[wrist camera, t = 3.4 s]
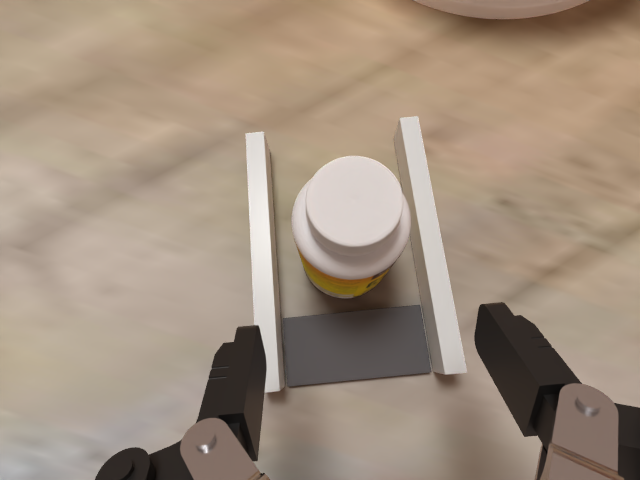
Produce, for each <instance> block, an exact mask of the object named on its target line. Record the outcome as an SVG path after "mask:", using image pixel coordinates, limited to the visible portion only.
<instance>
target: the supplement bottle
mask: <svg viewBox="0 0 640 480" xmlns="http://www.w3.org/2000/svg"><path fill="white" fill-rule="evenodd" d="M410 229H411V215H410V210H409V206H408V203H407V200H406V198H405V196H404V194H403V193H402V189H401V186H400V184H399V182H398V180H397V179H396V177H395V176H394V174H393V173H392V172H391V171H390V170H389V169H388V168H387V167H385V166H384V165H383V164H381V163H379V162H377V161H375V160H373V159H370V158H367V157H362V156H346V157H341V158H338V159H335V160H333V161H331V162H329V163H327V164H326V165H324V166H323V167H322V168H320V169H319V170H318V171H317V173H316V174H315V175H314V176H313V178H312V179H310V180H309V181H308V182H307V183H306V184H305V186H304V187H303V188H302V189H301V191H300V193H299V194H298V196H297V198H296V200H295V203H294V207H293V211H292V231H293V236H294V240H295V243H296V246H297V248H298V251H299V255H300V258H301V261H302V264H303V267H304V270H305V272H306V274H307V276H308V278H309V279H310V281H311V282H312V283H313V284H314V285H315V287H317V288H318V289H319V290H320V291H322V292H324V293H325V294H328V295H330V296H333V297H337V298H354V297H358V296H361V295H363V294H365V293H367V292H369V291H370V290H372V289H373V288H374V287H375V286H376V285H377V284H378V283H379V282H380V281H381V280H382V278H383V277H384V276H385V274H386V273H387V272H388V271H389V269H390V268H391V267H392V265H393V264H394V263H395V261H396V260H397V259H398V258H399V256H400V255H401V253H402V252H403V250H404V248H405V246H406V244H407V241H408V238H409V235H410Z"/></svg>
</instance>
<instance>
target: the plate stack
mask: <svg viewBox="0 0 640 480" xmlns="http://www.w3.org/2000/svg"><path fill="white" fill-rule="evenodd" d="M413 1H415V2H418V3H420V4H423V5H425V6H428V7H431V8H434V9H437V10H440V11H444V12H448V13H452V14H457V15H462V16H468V17H475V18H485V19H521V18H531V17H538V16H544V15H548V14H553V13H557V12H561V11H564V10H567V9H570V8H573V7H576V6H578V5H581V4H583V3H585V2H587V1H590V0H413Z"/></svg>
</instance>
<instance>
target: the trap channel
mask: <svg viewBox="0 0 640 480" xmlns="http://www.w3.org/2000/svg"><path fill="white" fill-rule="evenodd" d="M394 143H395V149H396V155H397V161H398V167H399V173H400V179H401V185H402V191H403V194H404V196H405V198H406V200H407V203H408V206H409V210H410V215H411V229H410V238H411V244H412V250H413V256H414V262H415V268H416V274H417V280H418V286H419V292H420V298H421V303H422V309H423V315H424V321H425V327H426V333H427V339H428V345H429V351H430V357H431V363H432V369H433V372H437V373H441V374H445V375H447V374H457V373H467V369H466V363H465V358H464V353H463V348H462V343H461V337H460V332H459V327H458V322H457V317H456V311H455V306H454V301H453V296H452V291H451V285H450V280H449V275H448V270H447V265H446V259H445V254H444V249H443V244H442V239H441V233H440V228H439V223H438V218H437V213H436V207H435V202H434V197H433V192H432V187H431V181H430V176H429V171H428V166H427V161H426V155H425V150H424V145H423V140H422V135H421V130H420V124H419V119H418V116H415V117H405V118H400V119H399V122H398V126H397V129H396V132H395V135H394ZM246 152H247V173H248V195H249V217H250V239H251V261H252V282H253V304H254V325H259V328H260V332H261V336H262V341H263V345H264V350H265V355H266V364H267V371H266V382H265V391H264V393H265V392H275V391H280V390H281V389H282V388H284V387H285V376H284V361H283V346H282V330H281V315H280V300H279V284H278V269H277V254H276V238H275V223H274V207H273V192H272V177H271V161H270V150H269V147H268V143H267V140H266V137H265V134H264V132H255V133H246ZM283 324H284V339H285V354H286V369H287V384H288V386H298V385H308V384H318V383H328V382H338V381H348V380H359V379H369V378H379V377H389V376H399V375H409V374H419V373H429V372H431V367H430V361H429V355H428V349H427V343H426V337H425V331H424V325H423V319H422V313H421V307H420V305H413V306H403V307H393V308H382V309H372V310H362V311H352V312H342V313H332V314H322V315H312V316H302V317H292V318H283Z"/></svg>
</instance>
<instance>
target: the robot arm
mask: <svg viewBox="0 0 640 480" xmlns="http://www.w3.org/2000/svg"><path fill="white" fill-rule="evenodd" d="M475 346H476V349H477V352H478V354H479V356H480V358H481V359H482V361H483V363H484V365H485V367H486V368H487V370H488V372H489V374H490V376H491V377H492V379H493V381H494V383H495V385H496V386H497V388H498V390H499V392H500V394H501V395H502V397H503V399H504V401H505V403H506V405H507V406H508V408H509V410H510V412H511V414H512V415H513V417H514V419H515V421H516V423H517V424H518V426H519V428H520V430H521V432H522V433H523V435H524V437H527V436H537V435H538V437H539V438H540V440H541V442H542V446H541V449H540V454H539V459H538V465H537V470H536V475H535V480H640V408H638V407H632V406H627V405H621V404H616V403H613V402H612V400H611V399H610V398H609V397H608V396H606V395H605V394H604V393H602V392H601V391H599V390H597V389H595V388H593V387H591V386H588V385H584V384H582V383H581V382H580V381H579V379H578V378H577V377H576V376H575V374H574V373H573V372H572V371H571V369H570V368H569V367H568V366H567V364H566V363H565V362H564V361H563V359H562V358H561V357H560V356H559V354H558V353H557V352H556V351H555V349H554V348H552V347H551V344H550V343H549V342H548V341H547V339H546V338H545V339H544V336H543V334H542V333H541V332H540V331H539V329H538V328H537V327H536V326H535V325H534V324H533V323H531V322H530V321H528V320H527V319H526V318H524V317H523V316H521V315H518V316H514V315H513V313H512V312H511V311H510V309H509V308H508V307H507V305H506V304H505V303H503V302H500V303H490V304H481V305H480V307H479V311H478V317H477V323H476V330H475ZM266 371H267V364H266V355H265V350H264V345H263V341H262V336H261V332H260V328H259V325H253V326H243V327H238V328H237V330H236V335H235V339H234V342H229V343H223V345H222V346H221V347H220V349H219V350H218V351H217V352H216V354H215V356H214V360H213V364H212V370H211V371H210V375H209V380H208V382H207V386H206V390H205V394H204V397H203V401H202V405H201V408H200V412H199V416H198V419H197V422H196V424H194V425H193V426H192V427H191V428H190V429H189V430H188V431H187V432H186V433H185V435H184V437H183V439H182V440H181V441H179V442H177V443H176V444H174V445H172V446H169V447H167V448H164V449H162V450H159V451H157V452H154V453H152V454H149V455H148V453H147V452H146V451H145V450H143V449H141V448H136V447H135V448H128V449H125V450H122V451H120V452H118V453H117V454H115V455H114V456H112V457H111V458H110V459H109V460H108V461H107V462H106V463H105V464H104V465H103V466H102V467H101V469H100V470H99V472H98V474H97V476H96V478H95V480H270V479H269V477H268V476H267V475H266V474H265V473H263V474H262V473H260V471H259V470H258V469H257V467H256V466H255V464H254V463H253V461H257V460H258V450H259V441H260V431H261V421H262V411H263V401H264V391H265V382H266Z"/></svg>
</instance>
